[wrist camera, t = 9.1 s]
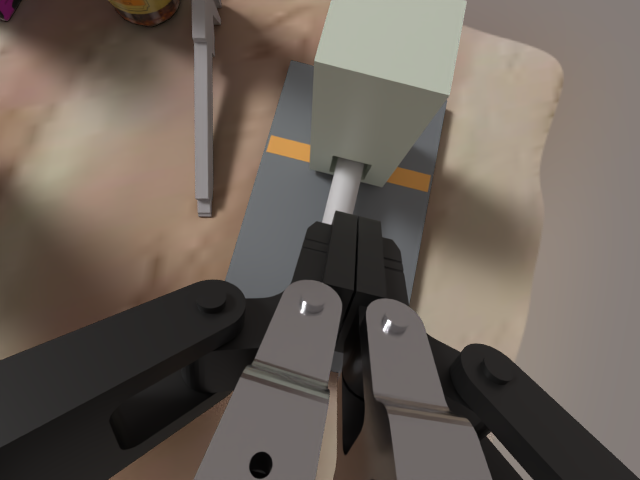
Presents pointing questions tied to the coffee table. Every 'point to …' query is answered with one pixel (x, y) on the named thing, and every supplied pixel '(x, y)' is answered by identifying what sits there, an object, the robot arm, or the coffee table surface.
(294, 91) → the pipe rig
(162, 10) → the sauce bottle
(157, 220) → the coffee table surface
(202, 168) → the caliper
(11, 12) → the candy bar box
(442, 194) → the coffee table surface
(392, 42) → the sage green block
